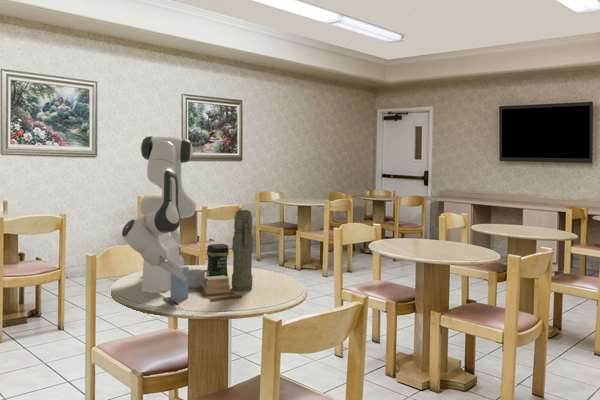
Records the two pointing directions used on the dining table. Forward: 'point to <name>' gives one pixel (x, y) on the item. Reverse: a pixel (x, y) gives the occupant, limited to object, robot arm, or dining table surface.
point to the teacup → (196, 278)
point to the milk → (156, 276)
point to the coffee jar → (217, 259)
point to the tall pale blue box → (180, 285)
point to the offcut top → (216, 281)
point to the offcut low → (216, 289)
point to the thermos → (242, 251)
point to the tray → (218, 295)
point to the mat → (170, 301)
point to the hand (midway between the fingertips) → (181, 277)
